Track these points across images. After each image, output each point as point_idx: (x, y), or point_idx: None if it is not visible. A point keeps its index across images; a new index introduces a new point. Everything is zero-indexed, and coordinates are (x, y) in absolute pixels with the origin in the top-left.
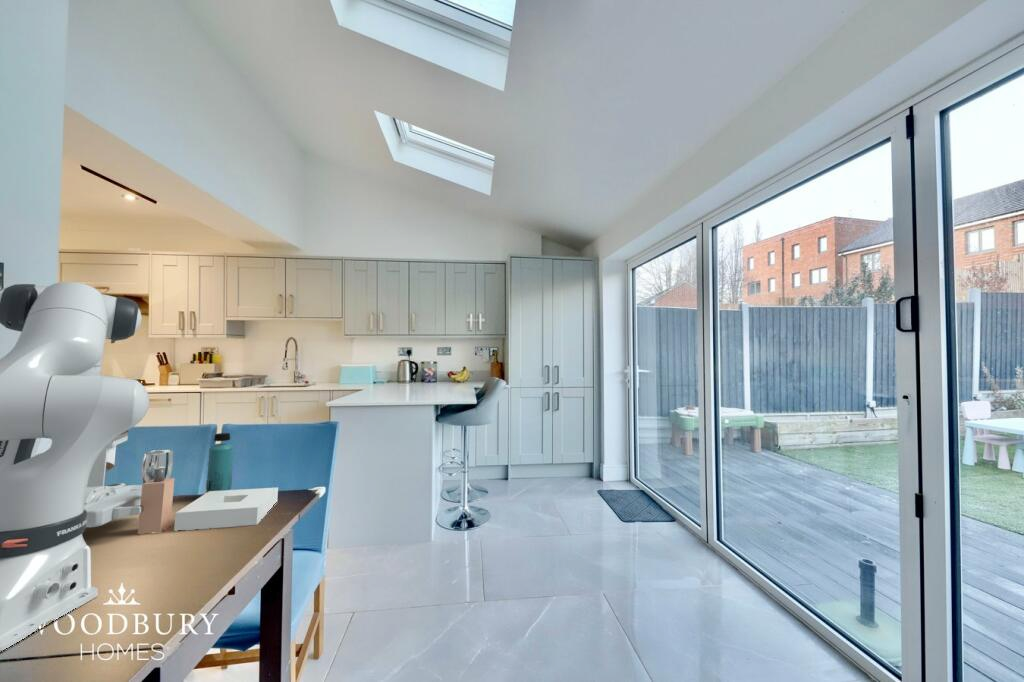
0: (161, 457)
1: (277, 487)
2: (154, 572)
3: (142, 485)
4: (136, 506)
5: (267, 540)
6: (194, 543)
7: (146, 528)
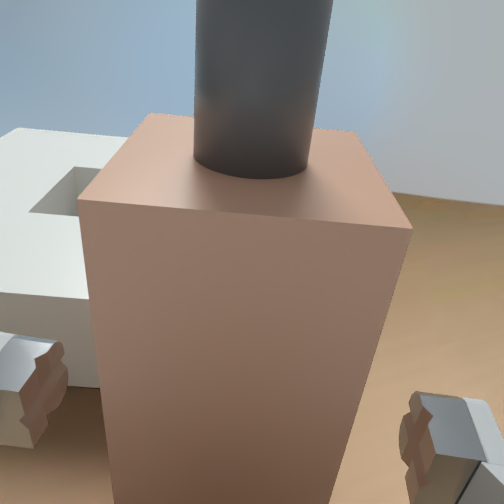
0: None
1: (16, 128)
2: None
3: (406, 248)
4: (473, 427)
5: (396, 192)
6: (428, 300)
7: None
